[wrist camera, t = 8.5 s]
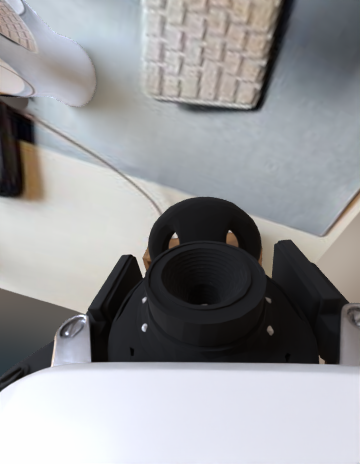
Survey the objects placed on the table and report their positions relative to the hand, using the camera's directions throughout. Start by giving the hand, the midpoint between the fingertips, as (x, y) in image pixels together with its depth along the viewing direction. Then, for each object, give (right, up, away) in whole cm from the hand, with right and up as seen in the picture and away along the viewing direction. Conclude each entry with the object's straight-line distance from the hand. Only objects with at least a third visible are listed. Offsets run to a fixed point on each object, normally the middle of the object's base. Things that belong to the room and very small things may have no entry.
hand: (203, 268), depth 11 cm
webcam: (0, +1, +2) cm, 3 cm away
